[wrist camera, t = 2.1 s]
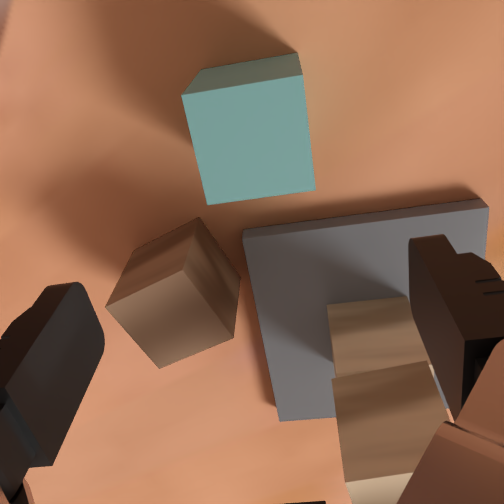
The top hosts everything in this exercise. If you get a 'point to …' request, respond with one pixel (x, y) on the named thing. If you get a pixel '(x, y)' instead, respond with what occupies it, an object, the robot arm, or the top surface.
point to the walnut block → (177, 295)
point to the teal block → (250, 129)
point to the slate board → (337, 286)
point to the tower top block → (385, 428)
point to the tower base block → (374, 336)
